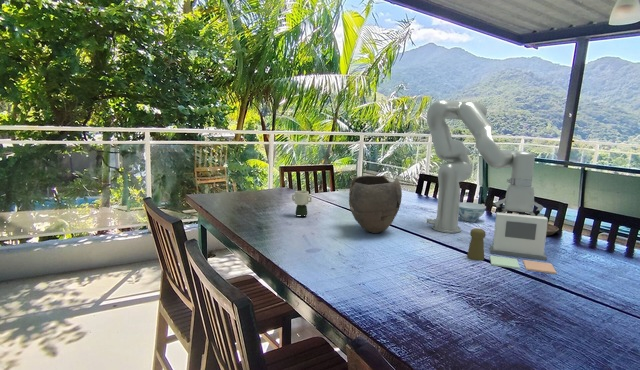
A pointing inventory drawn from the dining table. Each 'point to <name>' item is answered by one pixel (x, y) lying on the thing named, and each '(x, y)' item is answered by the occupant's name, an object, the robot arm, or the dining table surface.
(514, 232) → the white display panel
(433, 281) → the dining table surface
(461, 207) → the chinaware
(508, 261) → the sage pad
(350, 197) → the clay pot
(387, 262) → the dining table surface
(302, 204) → the trophy cup
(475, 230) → the olive pepper shaker
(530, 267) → the terracotta pad
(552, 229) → the plant saucer
